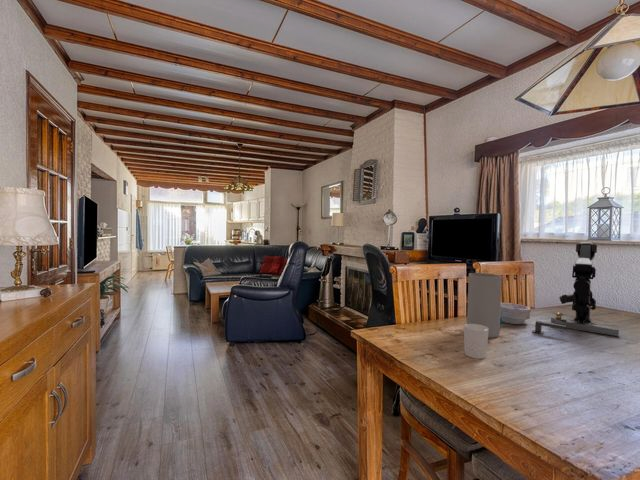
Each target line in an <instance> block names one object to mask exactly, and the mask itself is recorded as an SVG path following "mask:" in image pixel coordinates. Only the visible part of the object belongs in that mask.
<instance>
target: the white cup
mask: <svg viewBox="0 0 640 480" xmlns="http://www.w3.org/2000/svg"><path fill="white" fill-rule="evenodd" d="M488 332H489V328H488V327H486V326H483V325H478V324H467V323H465V324H463V344H464V354H465V355H466V356H467V357H469V358H471V359H480V360H483V359H485V358H486V357H487V350H488V341H489V338H488Z"/></svg>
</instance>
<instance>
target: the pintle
mask: <svg viewBox="0 0 640 480" xmlns="http://www.w3.org/2000/svg"><path fill="white" fill-rule="evenodd" d="M554 315H555V318H556V319H561V318H562V316H564V313H563V312H557V311H556V312H554Z"/></svg>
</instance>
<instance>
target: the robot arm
mask: <svg viewBox="0 0 640 480" xmlns="http://www.w3.org/2000/svg"><path fill="white" fill-rule="evenodd" d="M597 251H598V244H595V243H593V242H588V241H587V242H585V241H584V242H582V241H581V242H579V243H576V245H575V252H576V253H577V257H578V259H577V260H575V264H574V265H572V275H571V277H572V278H573V279H575V280H574V283H573V285H572V287H573V289H574V291H573V293H572V294H562V295H560V296H559V297H558V298H559V301H560V303H561V305H565V304H569V303H572V305H571V311H575V316H574V318H573V320H574V321H578V322H582V323H588V322H589V323H591V321H592V318H591V310H596V309H597V308H596V307H597V306H596V304H597V301H596V299H595V297H593V296H594V295H593V292H592V290H591V283H592V282H591V280H594V278H596V272H597V271H596V270H597V269H596V268H595V265H594V266H593V261H592V260H594V259H595V257H596V254H597V253H598V252H597Z"/></svg>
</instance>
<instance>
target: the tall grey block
mask: <svg viewBox="0 0 640 480" xmlns="http://www.w3.org/2000/svg"><path fill="white" fill-rule="evenodd" d="M502 278H503V276H502V275H500V274H495V273H487V272H486V273H483V272H481V273H480V272H470V273H468V282H467V283H468V286H467V287H468V289H467V290H468V291H467V314H466V315H467V316H466V324H478V325H483V326H486V327H488V328H489V332H488V339H493V338H498V337H499V336H500V332H501V331H500V328H501V327H500V326H501V323H500V309H501V303H502V301H501V300H502V285H503V283H502V282H503V281H502V280H503V279H502Z"/></svg>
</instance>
